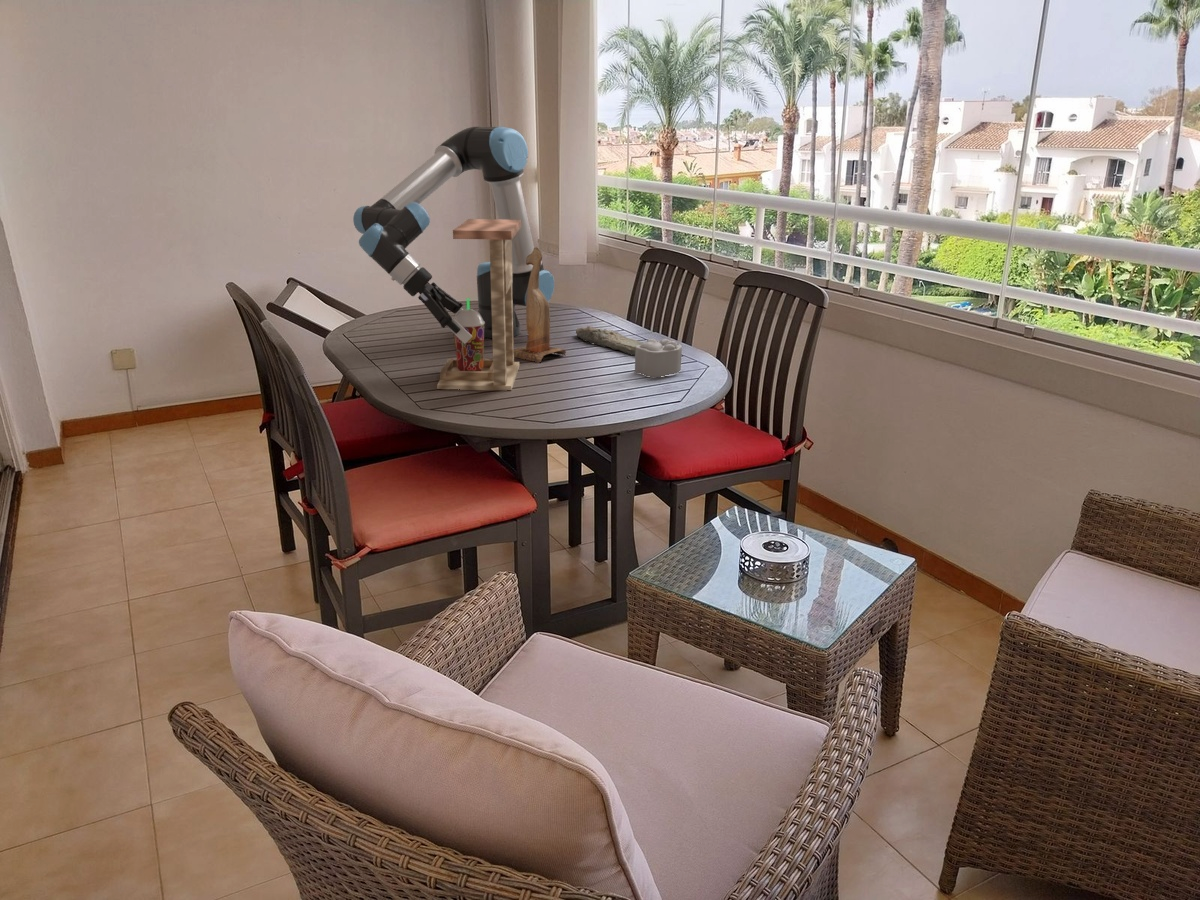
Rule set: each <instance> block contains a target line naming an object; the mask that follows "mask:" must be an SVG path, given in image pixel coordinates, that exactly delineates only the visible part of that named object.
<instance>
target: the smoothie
mask: <svg viewBox="0 0 1200 900" xmlns="http://www.w3.org/2000/svg"><path fill="white" fill-rule="evenodd" d="M454 317H455V318H454V319H455V320H456V321H457V322H458V323H459V324H460V325H461V326H462V327H463V328H464V329H465V330H467V331H468V332H469V333H470V334H471V335H472V337H471V338H470V339H469V340H468V341H467V342H466V343H465V344H464V343H463V342H462V341H461V340H460V339H459V338H458V337H457V336H456V335H455V334H454V333H453V334H454V335H453V336H454V345H455V355H456V359H457V366H458V369H459V370H460V371H481V370H482V368H483V359H484V353H485V352H484V351H485V337H484V324H485V321H483V318H482V316H481V315H480V314H479V313H478V310H476V309H473V308H470V298H469V297H468V298H466V308H463V310H462V311H460V312H459V313H458V314H457V315H456V316H454Z"/></svg>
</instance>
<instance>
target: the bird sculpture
mask: <svg viewBox="0 0 1200 900" xmlns="http://www.w3.org/2000/svg"><path fill="white" fill-rule="evenodd" d="M541 261H542V262H543V254H542V251H541V249H540V248H538V246H537V247H536V246H534V250H533V252H532V254H529V255H528V256H527V258H526V265H529V264H531V265H533V268H532V271H531V274H530V278H529V283H528V288H527V300H526V306H525V307H526V308H525V313H526V314H525V315H526V316H525V317H526V319H525V322H526V331H527V335H528V337H527V341H526V344H525V346H524V347H519V348H516V349H515V348H514V358H517V359H522V360H525V359H526V360H525V361H530V362H534V361H535V363H538V362H541V363H542V359H543V358H544V356H547V355H549V354H555V355H558V354H559V355H561V356H566V353H567V352H566V350H565V349H563V348H558V347H551V346H550V345H551V342H550V341H551V340H550V339H551V332H550V329H551V317H550V315H551V312H550V311H551V310H550V303H549V302H548V301H547V299H546V298H545V296H544V295H543V293H542V292H541V291H540V290H539V272H540V266H541Z"/></svg>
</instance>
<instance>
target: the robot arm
mask: <svg viewBox="0 0 1200 900" xmlns="http://www.w3.org/2000/svg"><path fill="white" fill-rule="evenodd" d="M528 158H529V149H528V145H527V142H526V140H525V138H524V137H523V135H522V134H521V133H520V132H519V131H518V130H516V129H514V128H511V127H505V126H470V127H467V128H464V129H462V130H461V131H459V132H458V131H457V132H456V133H455V134H454V135H452V136H450V137H449V138H447V139H446V140H445V141H443V142H442V143H440V145H438V146H437V147H436V148H435V150H434V155H432V156H431V157H430V158H429V159H427V160H426V161H425V162H423V163H422V164H421V165H420V166H419V167H417V168H416V169H415V170H414V171H412V172H411V173H410V174H409V175H407V177H405V178H404V179H402V180H401V181H400V182H399V183H398V184H397V185H396V186H394V187H393V188H392V189H391V190H389V191H388V192H387V193H386V194H384V195H383V196H382V197H381V198H380V199H378V200H377V201H376V202H374V203H373V204H372V205H365V206H359V207H358V208H357V209H356V210H355V212H354V213H353V214H354V215H353V221H352V222H353V226H354V228H355V229H356V231H358V233H361V234H362V235H361V236H360V238H359V240H358V244H359V247H361V249H362V251H364V252H365V253H366V254H367V255H368V257H369V258H371V259H372V260H373V261H374V262H375V263H376V264H378V266H380V267H381V268H382V269H383V271H385V272H386V273H387V274H388V275H389V276H391V281H393V282H394V281H396V283H398V284H399V285H400V286H401V285H403V289H404V291H406V292H407V293H408V294H409V295H410V296H411V297H415V296H417V294H419V296H418V297H417V298H418V300H420V301H421V303H422V304H423V305H424V306H425V307H426V308H427V310H428V311H429V312H430V313H431V314H432V316H433V317H434V318H435V320H436V321H437V322H438V323H439V325H440V327H441V328H443V329H445V327H446V328H447V329H449V331H451V333H452V334H455V335H456V336H457V337H458V338H459V339H460V340H461V341H462V342H463V343H464V344H465V343H466V342H467V341H468V340H469V339H470V338H471V337H472V335H471V334H470V333H469V332H468V331H467V330H465V329H464V328H463V327H462V326H461V325H460V324H459V323H458V322H457V321H456V320H455V318H452V317H451V315H450V314H449V312H448V311H450V312H451V313H453V314H454V317H456V315H457V314H458V313H459V312H460V311H462V310H464V308H463V306H464V305H463V304H462V302H459V301H458V300H456V299H455V298H454V297H452V296H451V295H450V294H449V293H447V292H446V291H445V290H443V289H442V288H441V287H440V286H438V285H437V284H436V282H433V281H432V283H430V281H431V280H432V279H433V275H432V274H431V273H430V272H429V271H428V270H427V269H426V268H425V267H421V263H420V262H419V261H418V260H417V259H416V258H415V257H414V256H413V255H412V254H411V253H409V251H408V250H406V248H408V246H409V245H410V244H412V243H413V241H415V240H416V239H417V238H418V237H419V236H420V235H421V234H424V231H425V230H426V229H427V227H428V226H429V225H430V223H431V222H430V221H431V219H430V215H429V214H428V212H427V210H426V209H425V207H423V206H422V205H421V203H422V202H423V201H425V200H426V199H427V198H428V197H429V196H431V195H432V194H433V193H434V192H436V190H438V189H439V188H440V187H441V186H443V185H444V184H445V183H447V182H448V181H449V180H450V179H451V178H456V177H457V178H458V177H459V176H460V175H461V174H462V173H464V172H467V171H473V170H478V171H481V172H482V176H483V180H484V182H486V183H487V184H489V185H490V187H491V192H492V196H493V201H494V204H495V210H496V213H497V217H498V218H497V219H500V220H521V228H520V229H519V231H518V232H517V233H516V235H515V236H514V237H513V239H512V280H513V283H512V298H513V337H516V336H518V335H520V334H521V324H520V321H519V319H518V316H517V311H516V309H515V305H516V306H522V307H526V300H527V288H528V283H529V278H530V274H531V271H532V268H533V265H531V264H529V265H526V258H527V256H528V255H529V254H532V252H533V250H534V247H535V245H534V240H533V236H532V231H531V225H530V222H529V216H528V212H527V207H526V202H525V197H524V194H523V187H522V184H521V178H522V177H523V176H524V173H525V172H524V168H525V167H526V165H527V163H528ZM476 269H477V270H476V271H477V272H476V284H477V285H476V287H477V303H478V304H477V307H478V310H477V312H478V313H479V314H480V315H481V316H482V318H483V321H485V324H484V338H490V339H492V307H491V274H490V261H485V262H481V263H479V264H478V266H477V268H476ZM539 290H540V291H541V292H542V293H543V295H544V296H545V298H546V299H547V301H548V303H549V302H550V300H551V299H552V296H553V294H554V291H555V278H554V275H553V274H552V273H550V271H548V270H546V269H544V264H543V260H542V261H541V266H540V272H539ZM447 310H448V311H447Z"/></svg>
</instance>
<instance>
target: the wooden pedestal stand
mask: <svg viewBox="0 0 1200 900" xmlns="http://www.w3.org/2000/svg"><path fill="white" fill-rule="evenodd" d="M520 228H521V220H500V219H499V218H497V219H493V218H491V219H490V218H489V219H487V218H468V219H466V220H465V221H463V222H462V223H461V224H460V225H457V227H455V228H454V229H452V238H453V240H489V241H488V242H489V262H490V274H491V307H492V338H491V339H492V358H483V368H482V370H481V371H460V370H459V369H458V366H457V358H448V359H447V361H446V362H445V363H444V365H443V366H442V368H441V369H440V372H439V378H440V379H439V381H438V383H437V384H436V390H437V389H458V390H457V391H507V390H511V391H512V390H513V387H514V384H515V381H516V378H517V374H518V371H519V369H520V361H515V357H514V350H515V347H514V336H513V298H512V283H513V280H512V239H513V237H514V236H515V235H516V233H517V232H518V231H519V229H520ZM459 389H460V390H459Z"/></svg>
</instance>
